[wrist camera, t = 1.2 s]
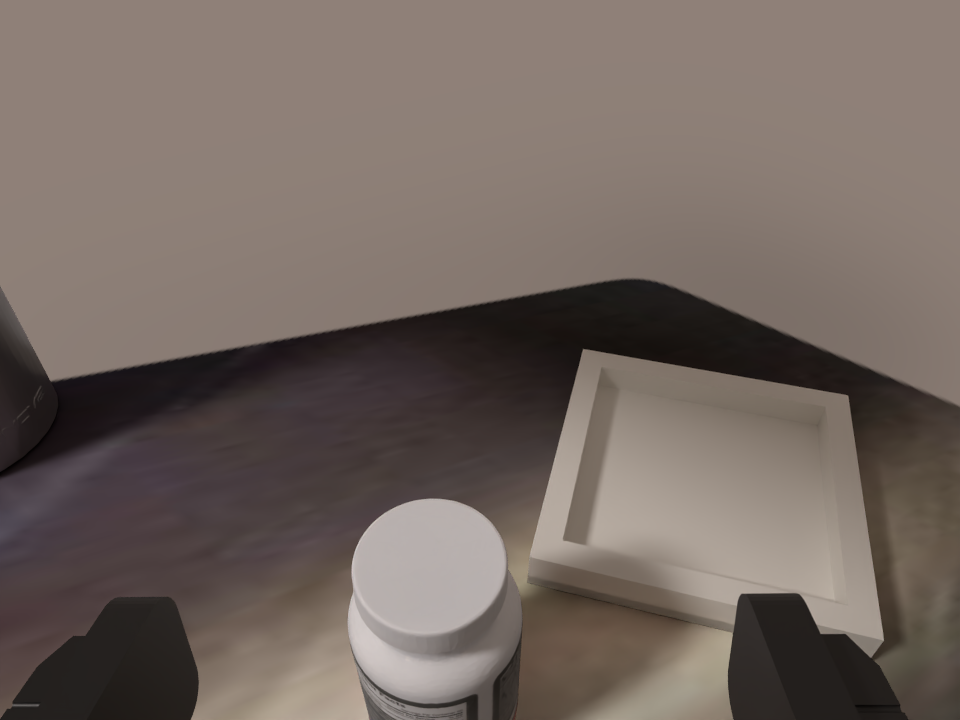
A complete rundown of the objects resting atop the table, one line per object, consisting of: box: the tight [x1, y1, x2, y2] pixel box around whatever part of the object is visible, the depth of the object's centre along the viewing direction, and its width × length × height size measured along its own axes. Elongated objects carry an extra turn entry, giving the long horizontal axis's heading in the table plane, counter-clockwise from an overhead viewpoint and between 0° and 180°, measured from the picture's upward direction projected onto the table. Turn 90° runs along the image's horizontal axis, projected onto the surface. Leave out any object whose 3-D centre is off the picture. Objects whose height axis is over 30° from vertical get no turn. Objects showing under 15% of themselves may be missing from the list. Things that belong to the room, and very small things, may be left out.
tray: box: [527, 349, 884, 658], centre depth 35 cm, size 14×14×2 cm
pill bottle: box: [348, 499, 522, 720], centre depth 25 cm, size 6×6×10 cm
